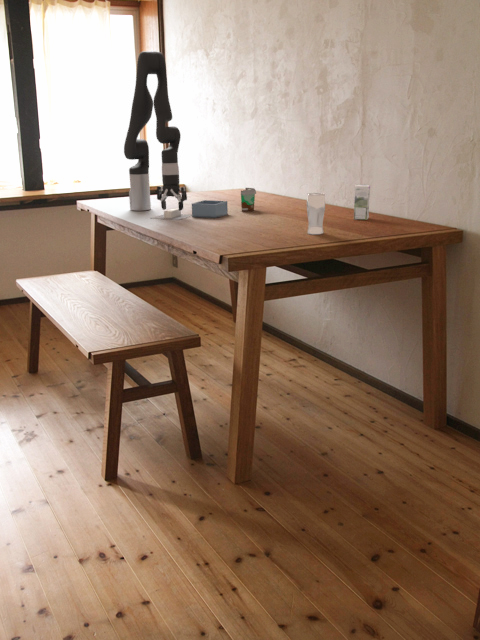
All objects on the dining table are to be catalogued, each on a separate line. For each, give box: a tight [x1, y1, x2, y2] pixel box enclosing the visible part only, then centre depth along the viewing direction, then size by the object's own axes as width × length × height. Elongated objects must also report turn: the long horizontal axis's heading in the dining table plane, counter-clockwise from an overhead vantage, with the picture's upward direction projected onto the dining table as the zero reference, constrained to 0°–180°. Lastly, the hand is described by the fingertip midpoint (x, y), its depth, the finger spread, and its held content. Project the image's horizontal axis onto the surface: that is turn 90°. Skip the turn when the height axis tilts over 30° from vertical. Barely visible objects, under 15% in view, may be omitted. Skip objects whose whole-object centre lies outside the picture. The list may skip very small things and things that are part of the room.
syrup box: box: [353, 183, 371, 221], centre depth 272 cm, size 6×6×14 cm
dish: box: [191, 199, 229, 219], centre depth 290 cm, size 12×12×6 cm
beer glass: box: [306, 192, 326, 236], centre depth 243 cm, size 7×7×15 cm
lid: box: [150, 208, 192, 221], centre depth 290 cm, size 15×15×4 cm
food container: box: [240, 187, 257, 213], centre depth 303 cm, size 12×6×10 cm, turn 168°
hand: (172, 209), depth 289 cm, fingers open, 8 cm apart
